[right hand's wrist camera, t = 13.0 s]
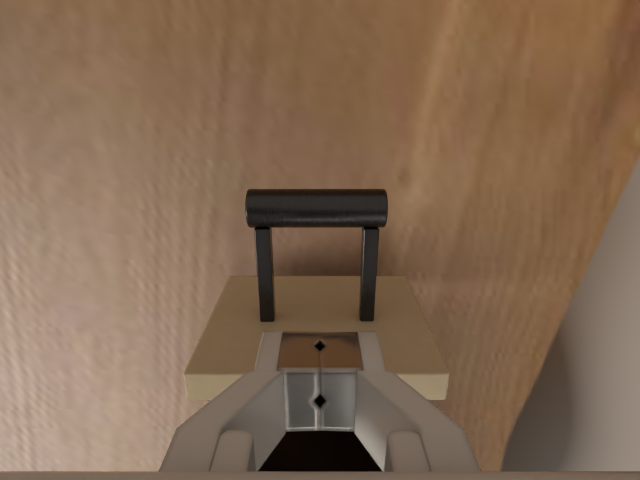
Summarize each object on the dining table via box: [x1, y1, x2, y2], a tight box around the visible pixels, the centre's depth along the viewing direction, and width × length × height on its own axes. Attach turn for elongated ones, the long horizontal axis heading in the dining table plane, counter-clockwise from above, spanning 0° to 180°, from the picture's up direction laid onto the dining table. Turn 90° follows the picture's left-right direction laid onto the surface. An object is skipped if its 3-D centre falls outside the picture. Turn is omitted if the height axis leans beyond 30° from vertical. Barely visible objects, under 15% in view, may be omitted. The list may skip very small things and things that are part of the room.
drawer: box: [183, 189, 450, 472], centre depth 19 cm, size 20×9×8 cm, turn 0°
